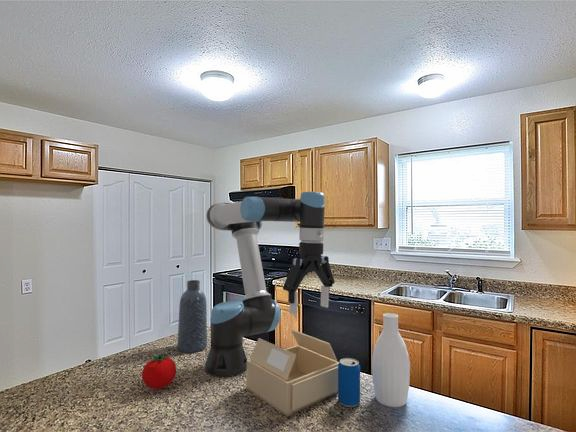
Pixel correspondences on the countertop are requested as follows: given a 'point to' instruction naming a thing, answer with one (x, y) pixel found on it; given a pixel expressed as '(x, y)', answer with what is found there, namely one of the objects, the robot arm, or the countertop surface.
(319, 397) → the carton
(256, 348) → the flap
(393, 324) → the bottle
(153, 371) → the tomato
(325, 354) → the flap
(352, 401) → the beverage can
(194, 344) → the vase
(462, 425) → the countertop surface
